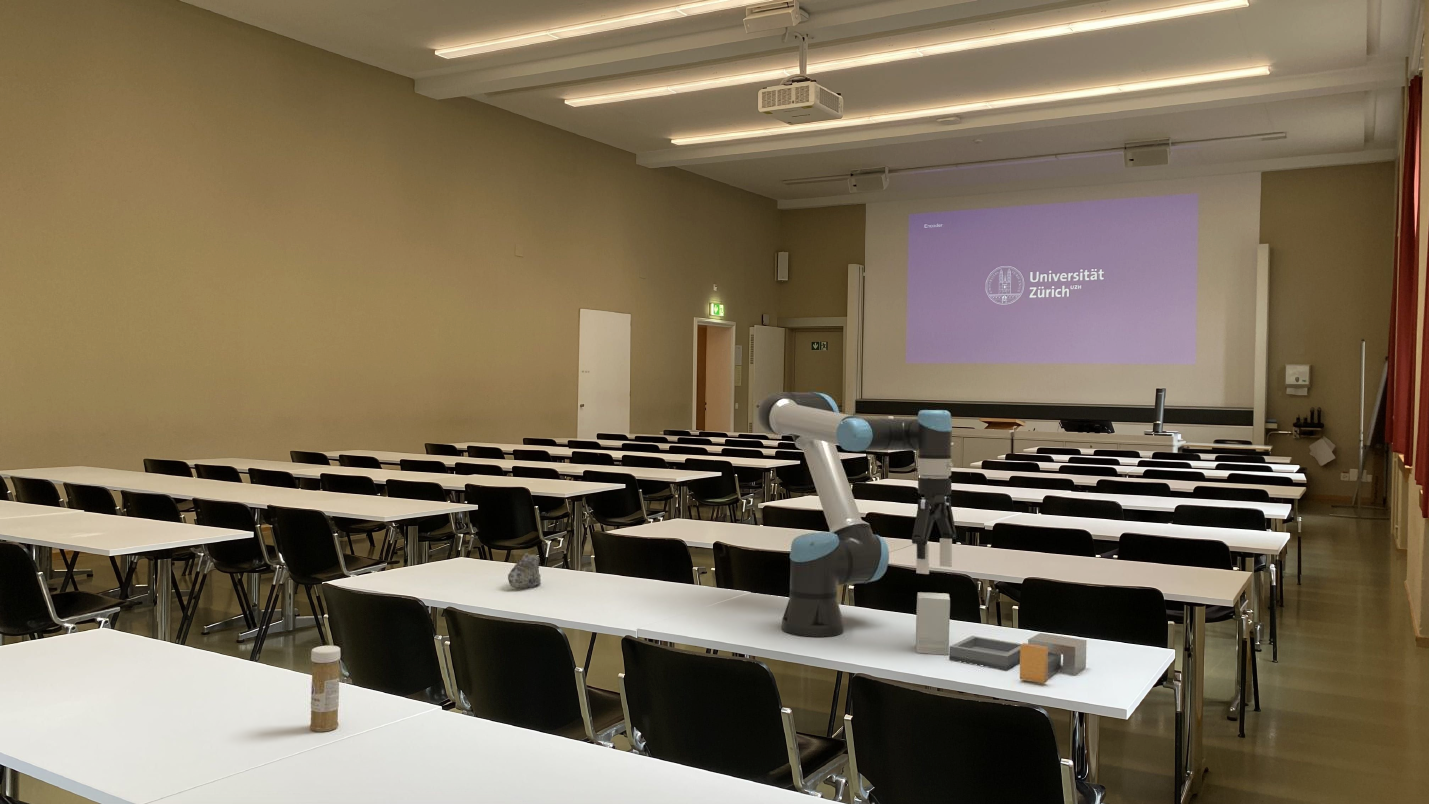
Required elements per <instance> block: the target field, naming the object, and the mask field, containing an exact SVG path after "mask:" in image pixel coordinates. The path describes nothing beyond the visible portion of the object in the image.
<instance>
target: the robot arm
mask: <svg viewBox="0 0 1429 804" xmlns="http://www.w3.org/2000/svg"><path fill="white" fill-rule="evenodd" d="M917 415H918V416H917V418H901V417H899V418H896V417H893V418H871V417H861V416H857V415H855V416H854V415H851V414H845V413H840V411H839V407H838V405H837V403H836V402H835V400H834V399H833V398H832V397H831V396H829V395H827V394H826V393H822V392H821V393H820V392H816V391H815V392H814V391H810V392H809V391H808V392H792V391H791V392H790V391H788V392H787V391H777V392H773V393H770V394H769V395H767V396H765V398H763V400H761V402H760V403H759V406H758V408H757V420H758V422H759V425H760V426H761V427H762V429H763V430H764V431H765V432H767V433H769V434H771V435H775V436H781V437H782V436H789V437H792V439H793V442H794V445H795V447H796V448H798V449H799V450H802V451H803V453H804V458H805V459H806V460H805V461H806V463H807V466H808V468H809V473H810V475H811V478H812V481H813V483H814V484H813V485H814V487H815V490H816V493H817V497H818V498H819V502H820V505H821V508H822V511H823V515H824V517H825V519H826V520H825V521H826V523H827V525H828V529H829V532H828V531H827V532H825V531H822V532H811V533H810V532H809V533H804V534H801V535H798V536H796V537H795V538H794V539H792V542H791V544H790V545H791V546H790V553H789V559H790V565H789V567H790V571H789V573H790V574H789V599H788V602H787V605H786V606H785V607H786V608H785V610H784V614H783V616H782V618H781V630H783V632H786V633H788V634H792V635H795V636H796V635H797V636H803V637H817V638H819V637H821V638H822V637H832V636H833V637H834V636H838V635H841V634H842V633H844V631H845V630H844V620H843V615H842V613H841V608H840V605H839V602H838V586H843V585H854V584H868V583H871V582H875V581H878V580H879V579H881V578H882V577H883V576H884V574H885V573H886V572H887V569H888V565H889V562H890V552H889V546H888V544H887V542H886V540H885V539H884V538H883V537H882V536H880V535H878V534H873V530H872V528H871V525H870V523H868V522H866V521H864V520H863V519H862V516H861V515H860V512H859V508H858V506H857V503H856V500H855V497H854V494H853V492H852V487H850V483H849V481H848V478H847V477H848V476H847V474H846V471H845V469H844V467H843V463H842V460H841V457H840V454H839V451H838V449H837V446H836V445H838V446H840V447H841V449H843V450H845V451H849V452H850V451H851V452H862V451H863V452H864V451H865V452H867V451H917V457H918V458H917V475H918V476H919V478H918V479H917V492H918V494H919V495H923V496H924V499H918V500H917V511H916V515H915V520H914V521H915V522H914V527H913V531H912V535H911V543H912V545H915V546H916V550H915V551H916V553H915V555H916V561H915V563H916V565H915V566H916V570H915V571H916V572H915V573H916V574H923V575H929V574H930V544H928V542H929V539H930V536H931V531H932V529H933V525H934V522H935V521H936V522H935V523H936V524H937V527H938V530H939V533H940V536H941V538H939V567H944V568H945V567H947V568H952V567H953V565H952V564H953V539H954V540H955V539H956V538H957V531H956V526H955V519H954V515H953V510H952V503H951V501H952V499H951V496H948V495H951V494H952V479H951V478H949V477H950V476H952V468H953V467H954V463H953V462H952V434H953V427H952V426H953V425H952V414H951V413H950V412H949V411H948V410H943V409H941V410H940V409H936V410H935V409H934V410H933V409H932V410H931V409H929V410H928V409H924V410H923V409H922V410H919V411H918V414H917Z"/></svg>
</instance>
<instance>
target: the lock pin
mask: <svg viewBox="0 0 1429 804" xmlns="http://www.w3.org/2000/svg"><path fill="white" fill-rule="evenodd" d="M1020 644H1021V645H1020V663H1019V680H1024V681H1028V682H1035V683H1039V684H1046V683H1047V682H1048V677H1050V676H1051V675H1053V674H1055V673H1056V672H1058V671H1059V670H1060V669H1061V670H1062V654H1056V653H1050V652H1048V647H1045V646H1039V645H1033V644H1028V642H1027V643H1025V642H1024V643H1020Z"/></svg>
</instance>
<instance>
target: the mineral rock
mask: <svg viewBox="0 0 1429 804" xmlns="http://www.w3.org/2000/svg"><path fill="white" fill-rule="evenodd" d="M539 562H540V557H539V555H536V554H534V553H533V554H529V553H528V552H525V553H524V555H523V556H522V558H521V559H520V560H519V561H518V562H517V563H516V564H514V566H513V567H512V569H511V570H510V571H509V573H508V574H507V581H508V583H509V585H510V587H511V588H514V589H528V588H530V587H533V586H541V584H542V582H541V574H540V565H539Z"/></svg>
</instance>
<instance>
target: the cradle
mask: <svg viewBox="0 0 1429 804" xmlns="http://www.w3.org/2000/svg"><path fill="white" fill-rule="evenodd" d="M1021 644H1022V643H1019V642H1018V643H1017V642H1012V641H1006V640H1002V639H1001V640H1000V639H993V638H988V637H982V636H976V635H970V636H968V637H967V638H965V639H962V640H960V641H957V642H956V643H954V644H952V645H949V654H948V655H949V657H948V660H949V661H952V660H954V662H958V661H961V662H960V663H963V662H966V663H965V664H969V663H972V664H971V665H974V664H977V665H976V666H980V665H983V666H982V667H985V666H988V667H987V668H990V669H991V668H992V669H996V668H997V669H998V670H1003V671H1009V670H1010V669H1012V668H1014V667H1016V666H1017V665H1020V645H1021Z"/></svg>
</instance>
